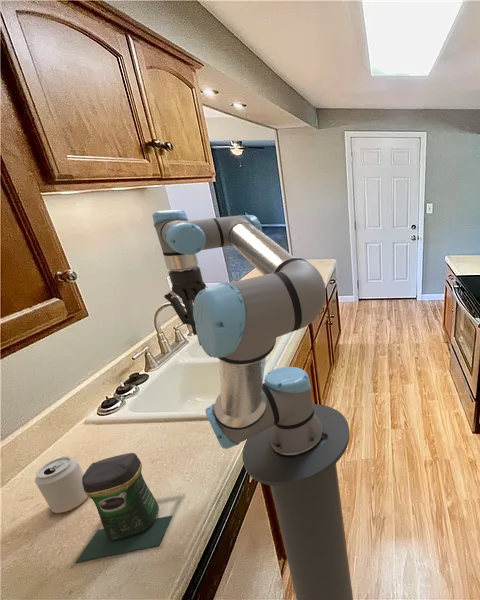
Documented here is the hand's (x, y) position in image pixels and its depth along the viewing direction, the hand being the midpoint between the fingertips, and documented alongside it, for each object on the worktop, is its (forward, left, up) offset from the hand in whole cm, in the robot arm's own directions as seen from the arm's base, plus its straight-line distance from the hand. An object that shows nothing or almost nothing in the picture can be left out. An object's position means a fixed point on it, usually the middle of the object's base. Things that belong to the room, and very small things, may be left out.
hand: (204, 343), depth 99 cm
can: (+30, +23, -30) cm, 48 cm away
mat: (+11, +34, -29) cm, 46 cm away
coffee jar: (+11, +33, -30) cm, 46 cm away
